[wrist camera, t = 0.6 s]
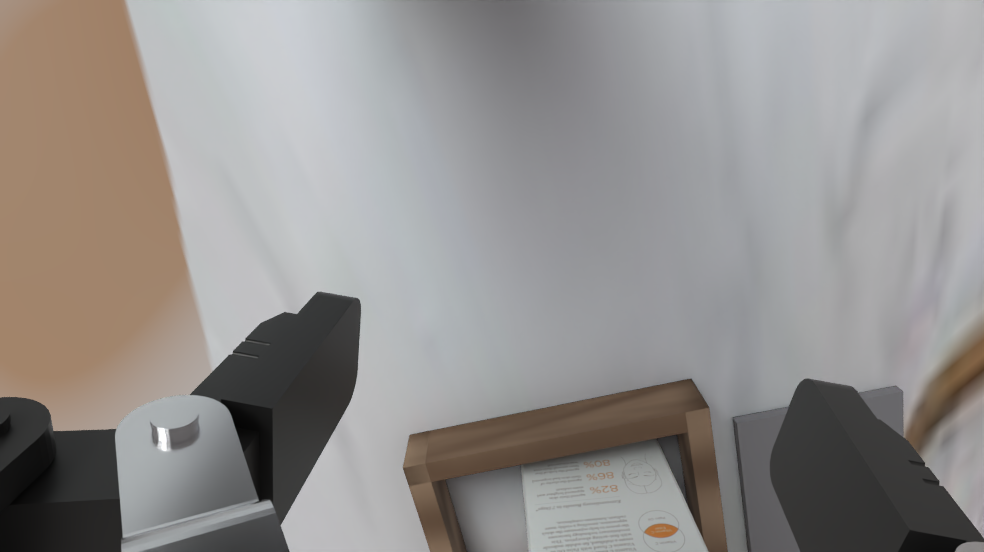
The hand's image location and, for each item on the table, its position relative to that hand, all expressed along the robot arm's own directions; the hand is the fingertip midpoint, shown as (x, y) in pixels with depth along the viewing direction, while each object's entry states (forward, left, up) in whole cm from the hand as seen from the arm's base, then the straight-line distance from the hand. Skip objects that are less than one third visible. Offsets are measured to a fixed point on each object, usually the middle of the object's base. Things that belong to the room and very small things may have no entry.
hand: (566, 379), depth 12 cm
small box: (+19, 0, -21) cm, 28 cm away
